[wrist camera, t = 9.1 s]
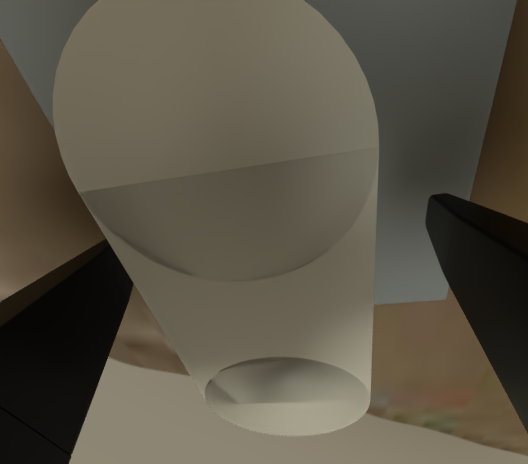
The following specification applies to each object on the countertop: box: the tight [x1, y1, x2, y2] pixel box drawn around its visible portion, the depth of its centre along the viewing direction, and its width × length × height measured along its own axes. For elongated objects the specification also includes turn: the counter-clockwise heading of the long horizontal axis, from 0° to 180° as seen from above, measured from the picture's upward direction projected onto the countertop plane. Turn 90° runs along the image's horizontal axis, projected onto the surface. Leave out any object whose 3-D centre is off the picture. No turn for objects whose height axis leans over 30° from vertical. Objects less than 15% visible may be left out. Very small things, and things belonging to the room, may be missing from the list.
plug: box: [53, 0, 379, 436], centre depth 9 cm, size 4×14×6 cm, turn 11°
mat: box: [0, 0, 517, 305], centre depth 11 cm, size 14×14×1 cm
